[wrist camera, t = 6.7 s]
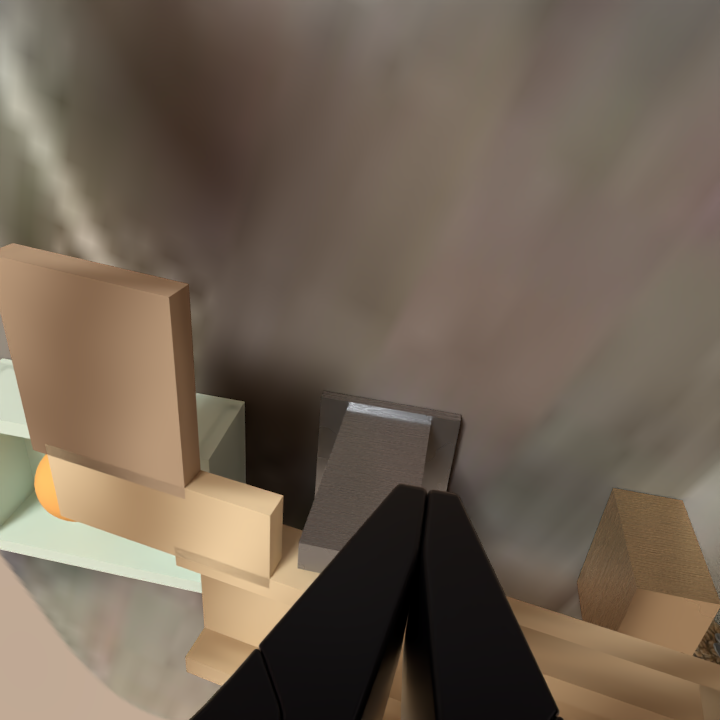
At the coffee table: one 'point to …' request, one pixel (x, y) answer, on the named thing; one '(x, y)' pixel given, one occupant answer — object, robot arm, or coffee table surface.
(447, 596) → the robot arm
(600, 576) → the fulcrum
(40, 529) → the mint cubby shelf
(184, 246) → the coffee table surface
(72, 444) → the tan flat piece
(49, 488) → the ball
